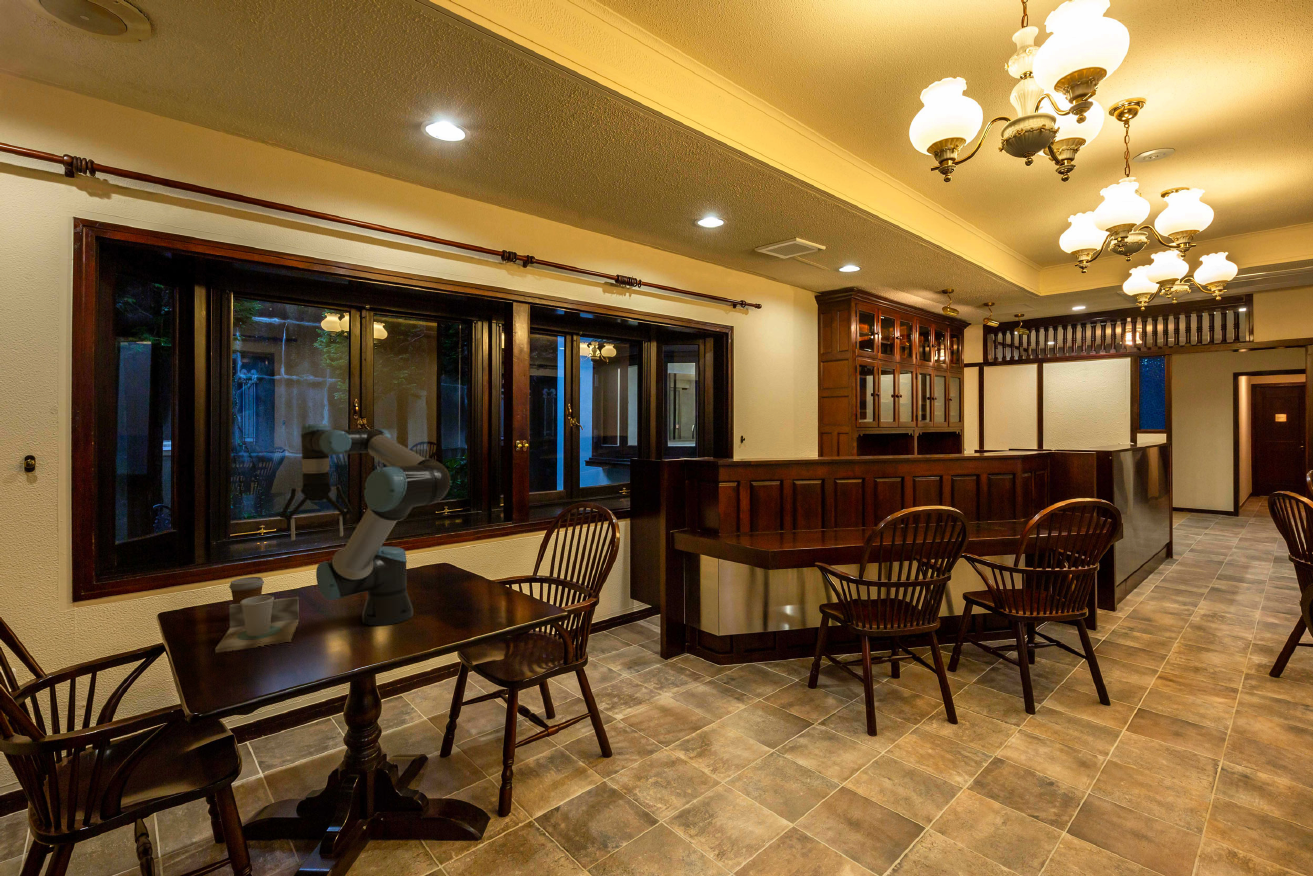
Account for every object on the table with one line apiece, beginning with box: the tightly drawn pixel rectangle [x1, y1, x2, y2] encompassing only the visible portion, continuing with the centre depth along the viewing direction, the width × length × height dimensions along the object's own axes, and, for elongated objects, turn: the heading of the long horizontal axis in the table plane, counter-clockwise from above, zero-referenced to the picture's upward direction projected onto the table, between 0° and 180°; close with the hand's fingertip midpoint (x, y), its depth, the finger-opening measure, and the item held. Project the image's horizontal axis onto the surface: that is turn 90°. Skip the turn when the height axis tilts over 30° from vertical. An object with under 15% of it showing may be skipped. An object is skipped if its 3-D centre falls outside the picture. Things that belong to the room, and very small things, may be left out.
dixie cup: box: [240, 595, 275, 636], centre depth 179 cm, size 8×8×10 cm
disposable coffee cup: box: [228, 576, 265, 604], centre depth 198 cm, size 10×10×12 cm
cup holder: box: [214, 596, 300, 654], centre depth 180 cm, size 18×20×8 cm
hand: (317, 537), depth 194 cm, fingers open, 13 cm apart
